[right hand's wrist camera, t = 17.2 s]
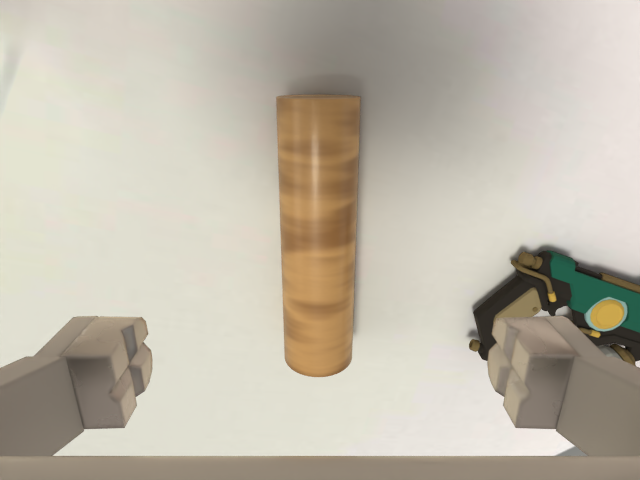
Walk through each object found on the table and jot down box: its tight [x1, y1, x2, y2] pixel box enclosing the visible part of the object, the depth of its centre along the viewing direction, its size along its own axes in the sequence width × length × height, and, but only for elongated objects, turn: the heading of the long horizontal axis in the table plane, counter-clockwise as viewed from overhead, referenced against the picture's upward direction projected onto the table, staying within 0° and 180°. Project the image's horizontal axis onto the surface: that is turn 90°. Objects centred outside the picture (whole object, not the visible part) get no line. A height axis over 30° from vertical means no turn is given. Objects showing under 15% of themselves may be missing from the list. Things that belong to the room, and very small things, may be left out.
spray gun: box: [469, 251, 640, 366], centre depth 40 cm, size 4×17×15 cm
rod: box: [276, 95, 361, 377], centre depth 35 cm, size 22×6×6 cm, turn 0°
